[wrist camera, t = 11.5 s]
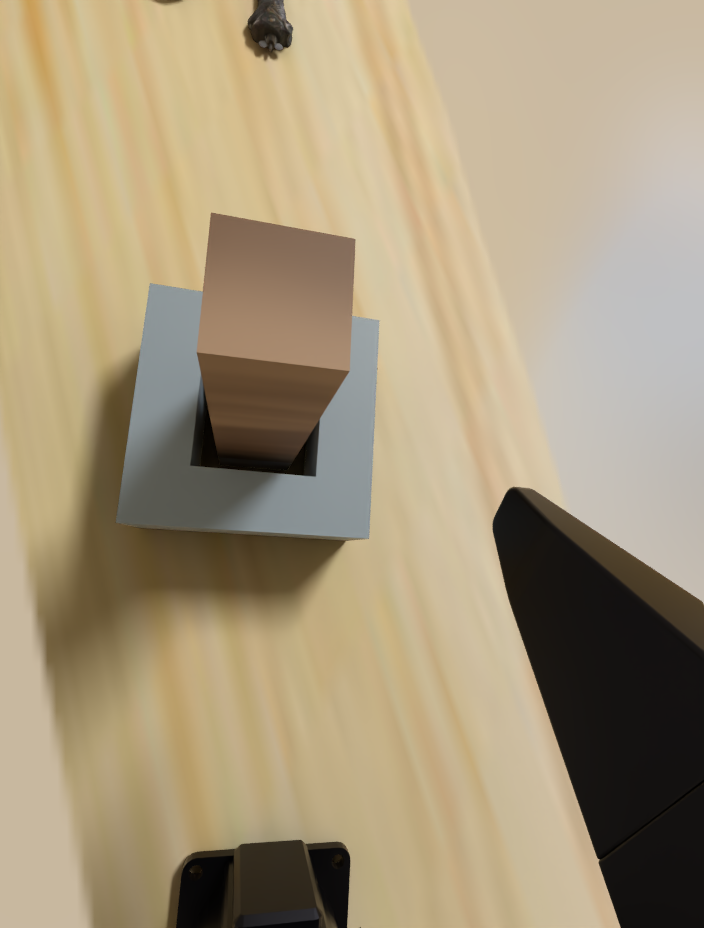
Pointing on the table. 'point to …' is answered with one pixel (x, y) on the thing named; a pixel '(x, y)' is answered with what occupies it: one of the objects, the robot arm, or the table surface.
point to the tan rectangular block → (272, 336)
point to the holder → (237, 491)
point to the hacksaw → (270, 25)
